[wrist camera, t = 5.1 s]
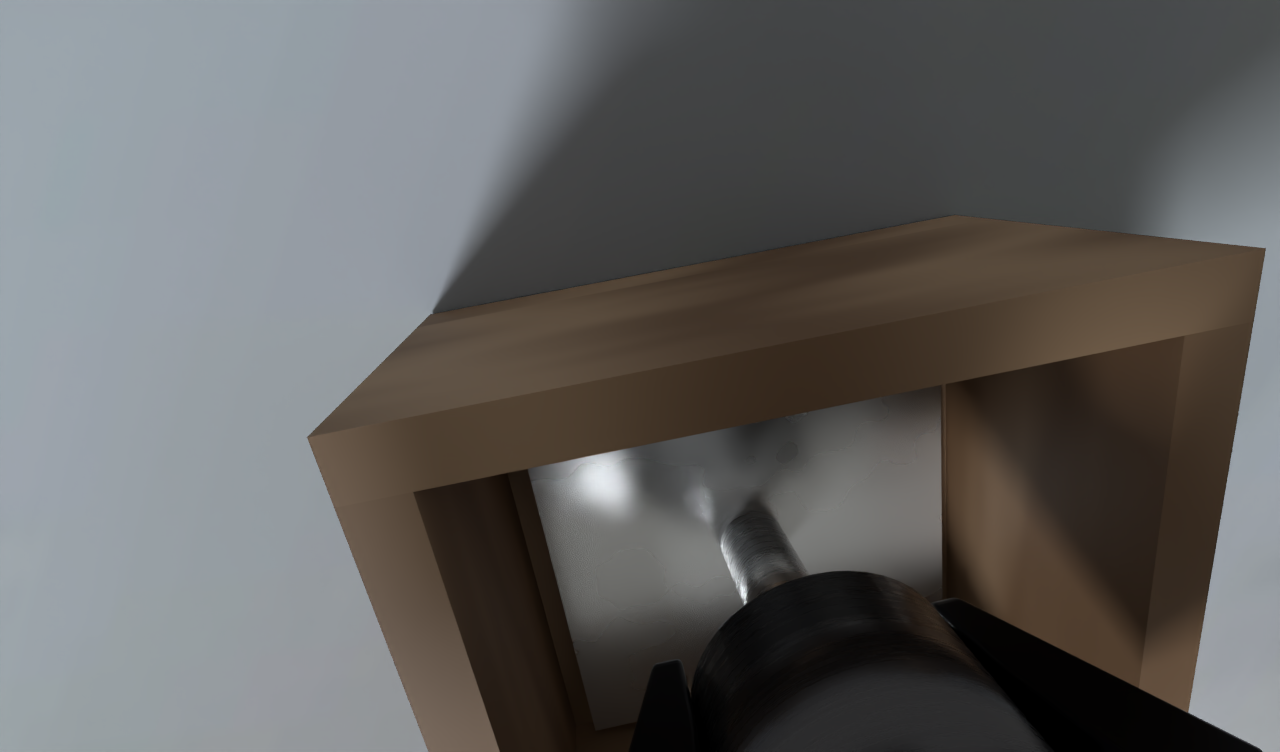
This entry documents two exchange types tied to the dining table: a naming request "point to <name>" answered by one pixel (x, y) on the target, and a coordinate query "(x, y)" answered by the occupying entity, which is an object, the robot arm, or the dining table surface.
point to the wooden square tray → (797, 383)
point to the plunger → (777, 584)
